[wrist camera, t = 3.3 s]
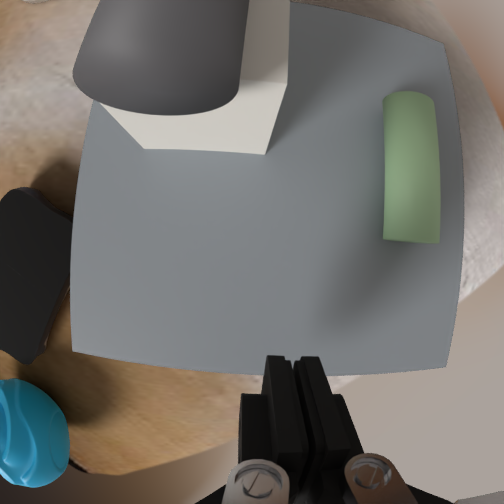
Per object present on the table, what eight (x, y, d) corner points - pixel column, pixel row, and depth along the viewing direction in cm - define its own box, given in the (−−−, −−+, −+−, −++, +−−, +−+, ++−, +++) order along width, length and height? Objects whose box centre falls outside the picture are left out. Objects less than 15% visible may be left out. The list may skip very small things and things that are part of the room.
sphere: (43, 351, 25) (-19, 425, 14) (106, 431, 28) (74, 511, 17) (-9, 370, 26) (-58, 426, 15) (45, 438, 29) (12, 499, 18)
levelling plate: (137, 28, 14) (75, -116, 3) (423, 63, 15) (530, -36, 4) (95, 336, 15) (-65, 444, 3) (420, 352, 16) (573, 441, 4)
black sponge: (35, 171, 21) (8, 175, 17) (107, 231, 22) (85, 244, 19) (-11, 307, 24) (-31, 322, 20) (45, 358, 26) (28, 378, 22)
